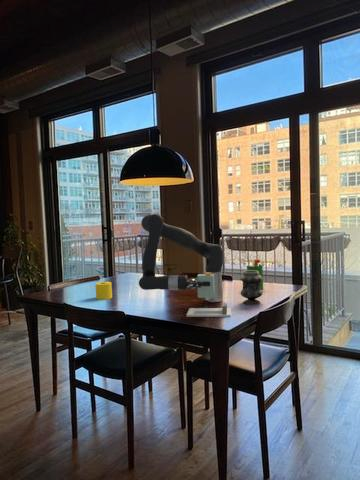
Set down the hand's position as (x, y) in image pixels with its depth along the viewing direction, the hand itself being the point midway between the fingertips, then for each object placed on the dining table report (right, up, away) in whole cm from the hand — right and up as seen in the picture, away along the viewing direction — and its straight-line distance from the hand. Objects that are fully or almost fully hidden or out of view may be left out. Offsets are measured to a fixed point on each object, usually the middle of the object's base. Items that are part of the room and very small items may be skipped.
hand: (210, 282), depth 190 cm
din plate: (0, -16, +3) cm, 16 cm away
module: (-2, -7, +1) cm, 7 cm away
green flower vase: (+35, -11, +57) cm, 67 cm away
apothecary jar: (+25, -14, +21) cm, 35 cm away
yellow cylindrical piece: (-64, -15, +49) cm, 82 cm away
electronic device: (-5, -12, +78) cm, 79 cm away
